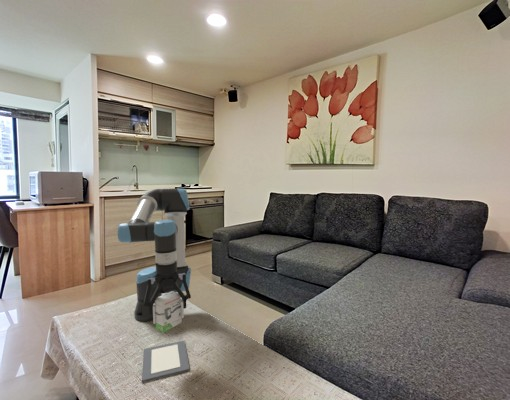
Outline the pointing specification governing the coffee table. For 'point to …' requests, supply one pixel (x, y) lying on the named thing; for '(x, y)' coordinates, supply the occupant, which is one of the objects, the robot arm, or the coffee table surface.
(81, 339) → the coffee table surface
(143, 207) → the robot arm
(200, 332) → the coffee table surface
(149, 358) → the writing mat
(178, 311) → the ink box
